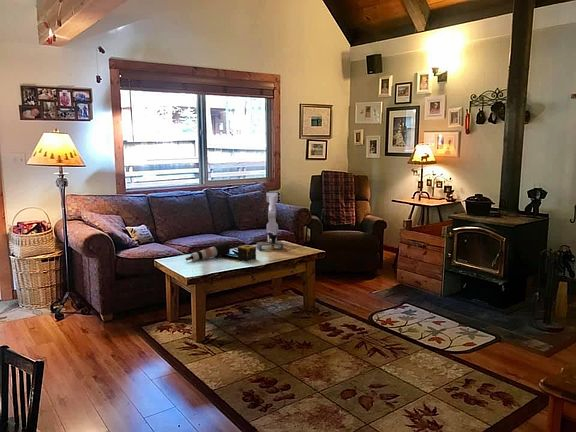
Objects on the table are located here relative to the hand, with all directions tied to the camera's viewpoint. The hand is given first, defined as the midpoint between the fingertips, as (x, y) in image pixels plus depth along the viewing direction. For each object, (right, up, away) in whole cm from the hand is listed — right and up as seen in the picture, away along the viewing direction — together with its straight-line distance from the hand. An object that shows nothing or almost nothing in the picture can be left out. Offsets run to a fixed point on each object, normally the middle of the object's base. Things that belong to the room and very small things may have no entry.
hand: (272, 242), depth 390 cm
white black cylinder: (-48, -11, -32) cm, 59 cm away
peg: (0, -4, +1) cm, 4 cm away
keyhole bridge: (-2, -5, 0) cm, 6 cm away
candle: (-18, -11, -35) cm, 41 cm away
